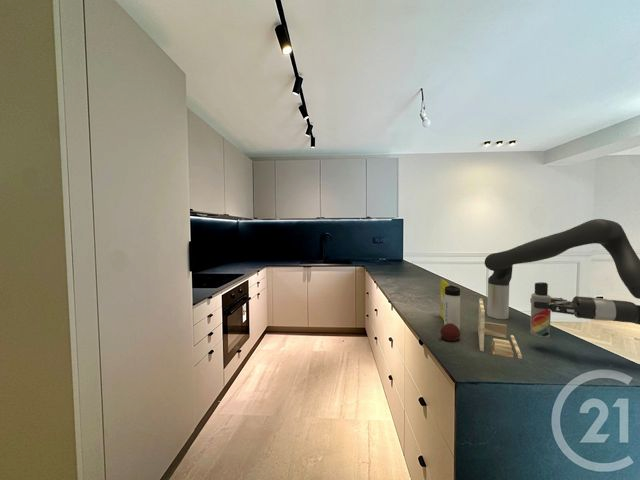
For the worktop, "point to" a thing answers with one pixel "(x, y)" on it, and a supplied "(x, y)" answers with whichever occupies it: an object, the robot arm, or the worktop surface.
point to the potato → (450, 332)
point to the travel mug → (452, 306)
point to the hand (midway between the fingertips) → (532, 302)
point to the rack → (492, 330)
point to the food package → (442, 297)
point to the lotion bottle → (540, 311)
